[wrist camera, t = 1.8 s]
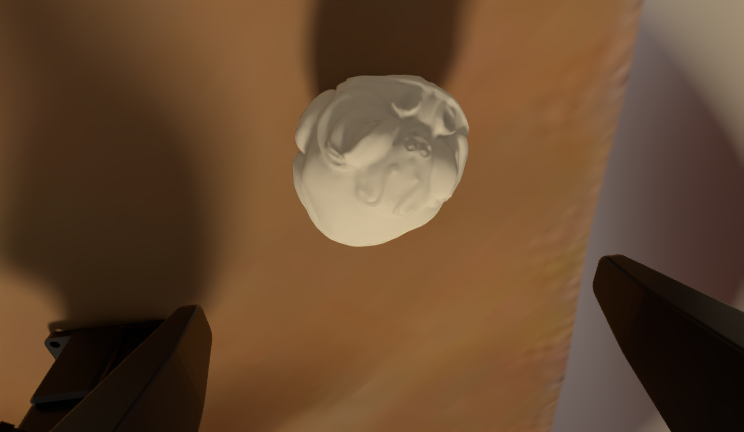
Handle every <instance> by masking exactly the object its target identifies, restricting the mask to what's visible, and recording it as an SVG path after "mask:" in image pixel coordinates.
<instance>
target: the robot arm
mask: <svg viewBox="0 0 744 432" xmlns="http://www.w3.org/2000/svg"><path fill="white" fill-rule="evenodd" d="M593 291H594V294H595V296H596V298H597V301H598V303H599V305H600V307H601V309H602V311H603V313H604V315H605V317H606V319H607V322H608V324H609V326H610V328H611V330H612V332H613V334H614V336H615V338H616V340H617V342H618V344H619V346H620V348H621V350H622V352H623V354H624V355H625V357H626V359H627V361H628V362H629V364H630V366H631V367H632V369H633V370H634V372H635V374H636V375H637V377H638V379H639V380H640V382H641V384H642V385H643V387H644V388H645V390H646V392H647V393H648V395H649V397H650V398H651V400H652V402H653V403H654V405H655V406H656V408H657V410H658V411H659V413H660V415H661V416H662V418H663V419H664V421H665V422H666V424H667V426H668V428H669V429H670V431H671V432H744V312H743V311H741V310H739V309H736V308H734V307H732V306H730V305H728V304H726V303H724V302H721V301H719V300H717V299H715V298H713V297H711V296H709V295H707V294H705V293H702V292H700V291H698V290H696V289H694V288H692V287H690V286H688V285H685V284H683V283H681V282H679V281H677V280H675V279H673V278H670V277H668V276H666V275H664V274H662V273H660V272H658V271H656V270H653V269H651V268H649V267H647V266H645V265H643V264H641V263H638V262H636V261H634V260H632V259H630V258H628V257H626V256H624V255H620V254H616V255H608V256H603V257H601V259H600V260H599V263H598V267H597V270H596V273H595V277H594V281H593ZM44 344H45V346H46V347H47V349H48V350H49V351H50V353H51V354H52V355H53V357H54V358H55V362H54V364H53V365H52V367H51V368H50V370H49V371H48V373H47V374H46V376H45V377H44V379H43V381H42V382H41V384H40V385H39V387H38V388H37V390H36V391H35V393H34V394H33V396H32V398H31V400H30V402H31V404H32V406H31V408H30V409H29V411H28V412H27V414H26V416H25V417H24V419H23V420H22V422H21V423H20V425H19V427H18V428H14V426H15V425H13V424H10V423H7V422H4V421H1V422H0V432H198V430H199V426H200V422H201V418H202V413H203V408H204V402H205V395H206V386H207V378H208V369H209V361H210V353H211V344H212V333H211V329H210V326H209V324H208V321H207V319H206V316H205V314H204V311H203V309H202V307H201V306H200V305H188V306H182V307H179V308H178V309H177V310H176V311H175V312H174V313H173V314H172V315H170V316H169V317H168V318H167V319H166V320H165V321H163V320H155V321H147V322H139V323H130V324H122V325H113V326H105V327H97V328H88V329H80V330H71V331H63V332H55V333H51V334H50V335H49V336H48V337H47V339H46V340H45V343H44Z"/></svg>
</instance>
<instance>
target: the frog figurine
mask: <svg viewBox="0 0 744 432" xmlns="http://www.w3.org/2000/svg"><path fill="white" fill-rule="evenodd" d="M468 131H469V125H468V122H467V119H466V117H465V115H464V112H463V110H462V109H461V107H460V105H459V103H458V102H457V100H456V99H455V98H454V97H453V96H452V95H451V94H449V93H448V92H447V91H445V90H444V89H442V88H440V87H437V85H436V84H434V83H432V82H428V81H426V80H424V78H423V77H420V76H413V75H387V76H362V75H361V76H356V77H352V78H347V80H346V81H345V82H343V83H341V84H339V85H338V86H337V89H336V90H333V89H330V90H326V91H324V92H323V93H321V94H320V95H318V96H317V97H316V98H315V99H314V100H312V101H311V103H310V104H309V105H308V107H307V108H306V109H305V111H304V112H303V114H302V115H301V117H300V120H299V123H298V126H297V129H296V133H295V140H296V143H297V146H298V147H299V148H300V150H301V151H300V152H298V153H297V154H296V155H295V157H294V159H293V176H294V185H295V189H296V191H297V194H298V196H299V199H300V200H301V202H302V204H303V205H304V206H305V208H306V209H307V212H308V214H309V216H310V218H311V220H312V221H313V223H314V224H315V226H316V227H317V228H318V229H319V230H320V231H321V232H322V233H323V234H324V235H325V236H327V237H328V238H330V239H331V240H334V241H337V242H338V243H343V244H346V245H350V246H357V247H360V246H372V245H377V244H382V243H385V242H387V241H390V240H392V239H394V238H397V237H399V236H401V235H402V234H404V233H406V232H408V231H410V230H413V229H415V228H417V227H421V226H422V225H424V224H426V223H427V222H428V221H429V220H431V219H432V218H433V217H434V216H435V215H436V214H437V212H438V211H439V209H440V207H441V206H442V203H443V202H444V201H447V200H448V198H450V197H451V196H452V193H453V192H454V190H455V188H456V187H457V185H458V183H459V182H460V180H461V177H462V174H463V170H464V167H465V163H466V159H467V155H468V142H467V135H468Z"/></svg>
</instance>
